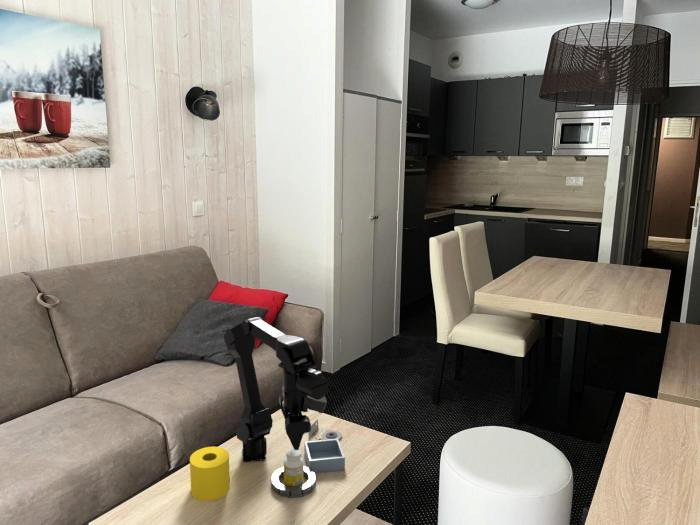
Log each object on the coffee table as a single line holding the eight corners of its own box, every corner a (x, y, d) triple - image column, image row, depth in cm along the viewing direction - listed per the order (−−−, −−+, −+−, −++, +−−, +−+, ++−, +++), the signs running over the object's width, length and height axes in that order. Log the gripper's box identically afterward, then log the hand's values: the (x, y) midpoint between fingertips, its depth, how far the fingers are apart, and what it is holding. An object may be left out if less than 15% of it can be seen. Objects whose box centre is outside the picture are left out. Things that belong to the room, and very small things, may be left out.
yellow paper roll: (190, 503, 137) (189, 470, 135) (191, 480, 147) (190, 449, 145) (230, 497, 140) (230, 465, 138) (228, 475, 149) (228, 444, 148)
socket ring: (273, 500, 139) (273, 493, 139) (270, 473, 151) (270, 467, 150) (318, 495, 142) (318, 488, 142) (311, 469, 153) (311, 463, 153)
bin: (309, 473, 151) (309, 461, 150) (304, 453, 161) (304, 441, 160) (344, 470, 153) (345, 457, 153) (337, 450, 163) (338, 438, 162)
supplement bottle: (299, 492, 143) (299, 459, 141) (280, 488, 144) (280, 456, 142) (306, 480, 148) (306, 448, 146) (288, 476, 150) (288, 445, 148)
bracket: (336, 445, 167) (336, 435, 166) (307, 437, 171) (308, 427, 170) (345, 435, 173) (345, 425, 172) (317, 428, 177) (317, 418, 176)
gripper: (331, 399, 133) (330, 456, 137) (318, 370, 151) (318, 421, 154) (286, 403, 131) (286, 461, 134) (278, 373, 149) (279, 424, 152)
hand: (294, 440), depth 144 cm, fingers open, 9 cm apart
